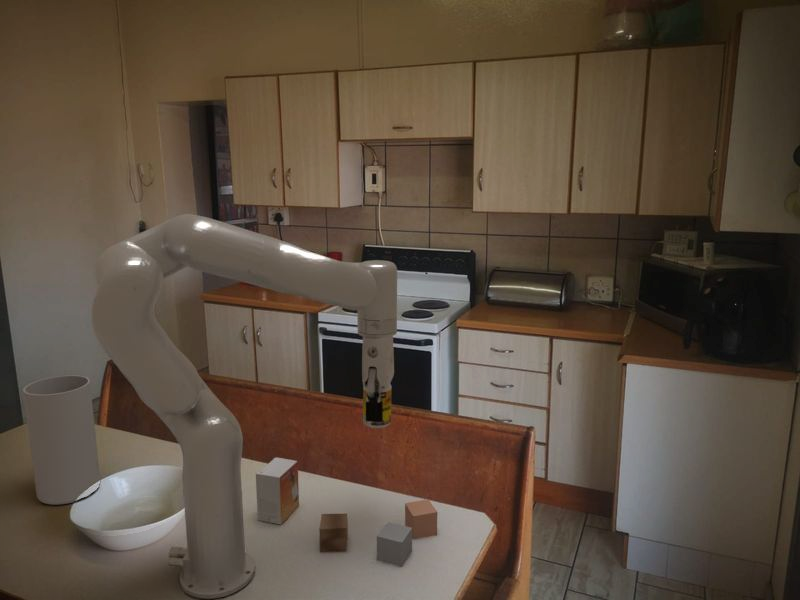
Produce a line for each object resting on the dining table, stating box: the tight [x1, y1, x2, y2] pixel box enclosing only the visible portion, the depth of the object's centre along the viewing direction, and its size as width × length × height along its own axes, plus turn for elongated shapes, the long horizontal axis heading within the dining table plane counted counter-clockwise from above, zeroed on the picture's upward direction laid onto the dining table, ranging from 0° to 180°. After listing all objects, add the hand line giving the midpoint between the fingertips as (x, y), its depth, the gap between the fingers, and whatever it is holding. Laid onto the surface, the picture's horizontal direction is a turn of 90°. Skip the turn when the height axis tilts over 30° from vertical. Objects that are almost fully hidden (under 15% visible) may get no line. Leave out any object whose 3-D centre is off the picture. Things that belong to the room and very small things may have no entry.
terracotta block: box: [404, 499, 438, 540], centre depth 120 cm, size 5×5×5 cm
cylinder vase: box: [22, 374, 101, 506], centre depth 132 cm, size 12×12×25 cm
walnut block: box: [318, 512, 349, 553], centre depth 116 cm, size 5×5×5 cm
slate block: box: [376, 521, 413, 568], centre depth 112 cm, size 5×5×5 cm
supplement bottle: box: [362, 383, 393, 429], centre depth 119 cm, size 6×6×10 cm
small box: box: [255, 456, 300, 526], centre depth 126 cm, size 8×6×10 cm
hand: (377, 413), depth 119 cm, fingers closed on supplement bottle, 5 cm apart
